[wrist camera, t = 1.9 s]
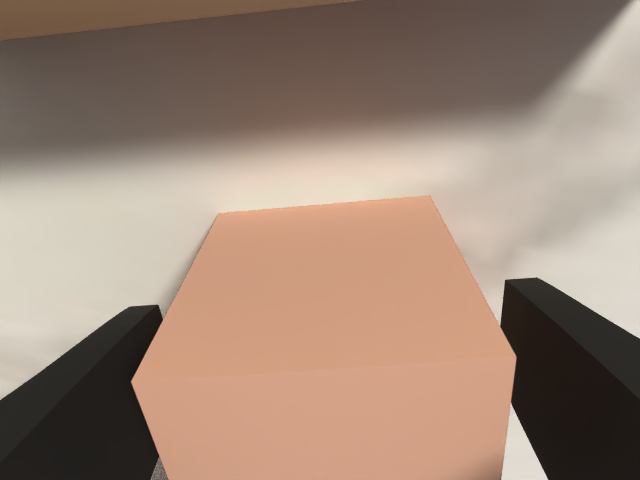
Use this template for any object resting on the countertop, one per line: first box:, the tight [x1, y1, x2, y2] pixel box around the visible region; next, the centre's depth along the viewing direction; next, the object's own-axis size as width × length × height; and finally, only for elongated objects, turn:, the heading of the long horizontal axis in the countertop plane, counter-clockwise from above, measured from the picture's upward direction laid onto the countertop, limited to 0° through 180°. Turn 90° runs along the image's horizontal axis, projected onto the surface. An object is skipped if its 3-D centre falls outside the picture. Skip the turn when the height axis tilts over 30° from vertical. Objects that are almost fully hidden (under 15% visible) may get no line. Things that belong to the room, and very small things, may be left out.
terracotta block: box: [131, 196, 516, 480], centre depth 9 cm, size 4×4×5 cm
